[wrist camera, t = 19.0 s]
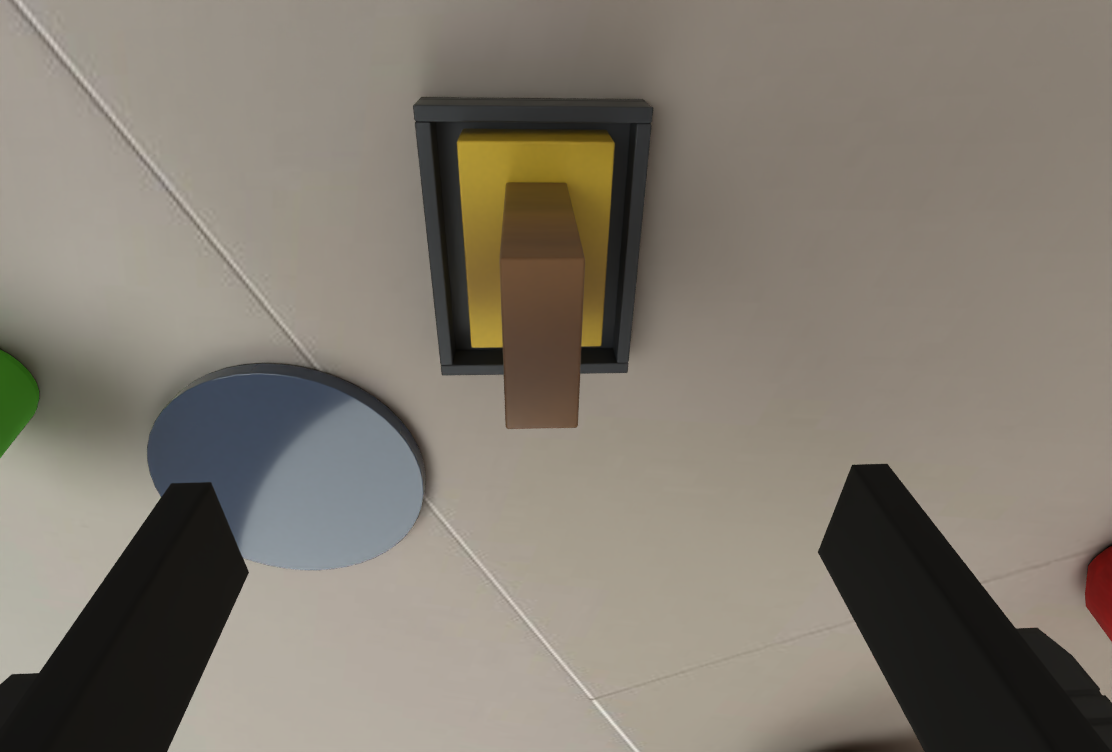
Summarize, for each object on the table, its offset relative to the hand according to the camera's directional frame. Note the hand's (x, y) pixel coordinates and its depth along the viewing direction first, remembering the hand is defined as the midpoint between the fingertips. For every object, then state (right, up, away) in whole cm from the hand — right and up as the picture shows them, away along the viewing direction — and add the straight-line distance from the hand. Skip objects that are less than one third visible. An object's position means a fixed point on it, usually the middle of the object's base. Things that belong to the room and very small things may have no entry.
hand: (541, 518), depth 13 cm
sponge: (-1, +9, +14) cm, 17 cm away
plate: (-15, -3, +22) cm, 27 cm away
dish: (-1, +9, +15) cm, 18 cm away
